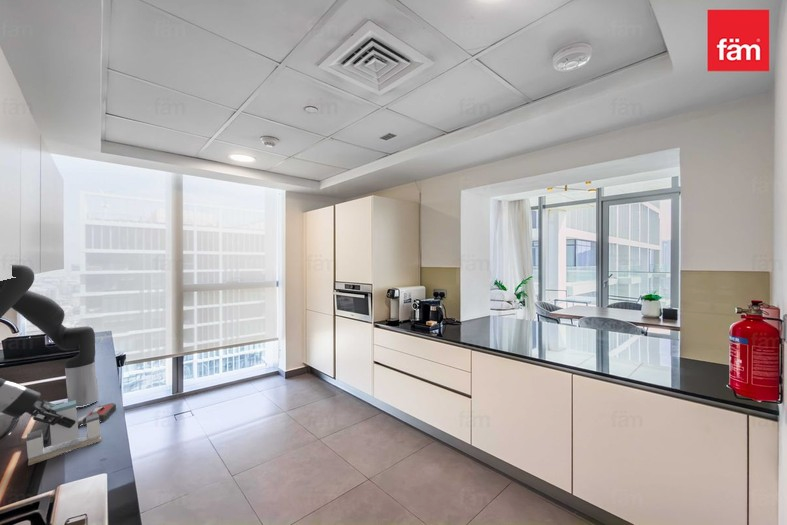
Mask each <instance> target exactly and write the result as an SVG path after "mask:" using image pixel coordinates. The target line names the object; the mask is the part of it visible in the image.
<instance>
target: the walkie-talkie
mask: <svg viewBox="0 0 787 525" xmlns="http://www.w3.org/2000/svg"><path fill="white" fill-rule="evenodd" d="M116 410H117V404H116V403H113V402H111V403H106V404H100V405H98V406H97V407H94V409H92V411H90V412H89V413H87V414H85V415H83V416H81V417H79V418H78V419H77V421H78V426H79V427H81V426H80V425H81V424H83V426H84V425H85V424H87V422H86V416H90V415H93V414H97V413H98V415H99V422H100V421H103V422H106V421H107V420H106V419H107V418H109V417H110V416H112V414H114V413H115V411H116ZM105 420H106V421H105ZM100 423H101V422H100ZM85 426H86V425H85Z"/></svg>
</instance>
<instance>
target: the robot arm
mask: <svg viewBox="0 0 787 525" xmlns="http://www.w3.org/2000/svg"><path fill="white" fill-rule="evenodd" d="M11 265H12V276H13V277H16V278H11V279H7V280H3V281H0V320H1V319H2V317H3V316H4V315H5V314H7V312H8V311H9V310H10V309H12V310H14V311H15V312H16V313H18V314H20V315H21V316H22V317H23V318H24V319H25V320H26V321H28V322H30V323H31V325H33V326H35V327H37V328H38V329H39V330H40V331H41V332H42V333H44V334H45V335H46V336H47V338H48V339H50V340H51V342H52V343H54V344H55V346H56V347H57V348H59V349H60V350H61V351H77V350H79V351H78V354H77V355H75V356H73V357H71V358H68V359H67V360H65V361H64V371H65V384H66V393H67V395H66V396H67V402H70V401H74V400H76V406H83V405H87V404H91V403H93V402H95V401H97V400H98V401H99V399H98V397H99V385H98V377H97V372H96V361H95V360H96V334H95V330H94V329H93V328H92V327H91V326H79V327H69V328H68V327H67V326H64V325H63V322H64V320H65V310H64V309H63V307H61V306H60V305H59V304H58V303H57V302H56V301H55V300H53V299H52V298H50V297H48V296H45V295H43V294H40V293H37V292H34V291H31V290H29V289H30V288H31V287H32V285H33V284H34V282H35V273H34V271H33V269H32V268H31V267H29V266H27V265H22V264H11ZM41 396H42V393H41V392H40V391H38V390H37V391H36V390H34V389H32V388H29V387H27V386H24V385H22V384H19V383H17V382H13V381H10V380H7V379H4V378H1V377H0V413H1V414H3V415H7V416H9V417H13V418H15V419H17V418H20V417H22V416H23V415H24V414H25V413H27V414H29V415H30V417H31V418H32V420H33V421H37V422H40V423H44V424H46V425H49V426H50V425H55V424H59V425H62V426H64V427H67V428H71V427H72V426H73V425H74V424H75V422H76V421H75V420H72V419H70V418H67V417H64V416H63V415H60V414H58V413H57V411H56V410H53V408H51V407H54V406H55V405H56V404H54V403H52V402H49V401H48V400H46V399H43V400H40V401H39V399H40V398H41ZM50 411H52V413H50ZM52 417H54V418H55V419H54V420H51V418H52Z"/></svg>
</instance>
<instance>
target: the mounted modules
mask: <svg viewBox="0 0 787 525" xmlns="http://www.w3.org/2000/svg"><path fill="white" fill-rule="evenodd" d="M86 422H87V425H86V430H87V432H86V434H88V439H89V438H92V437H95V436H99V435H100V436H101V434H102V433H101V424H100V423H101V422H99V415H98V413H97V414H93V415H90V416H86ZM25 438H26V439H25V440H26V441H25V442H26V450H27V459H28V460H29V458H32V457H35V456H38V455H41V454H43V450H44V448H45V446H44V437H43V429H40V430H36V431H32V432H30V433H27V435H26V437H25Z"/></svg>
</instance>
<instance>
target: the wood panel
mask: <svg viewBox="0 0 787 525" xmlns="http://www.w3.org/2000/svg"><path fill="white" fill-rule="evenodd" d="M96 442H97V443H100V442H102V437H101V435H100V438H98V439H95V440H92V441H89V442H86V443H83V444H80V445H77V446H74V447H71V448H68V449H65V450H62V451H59V452H56V453H53V454H50V455H47V456H44V457H41V458H38V459H35V460H32V461H29V459H28V461H27V466H31V465H34V464H37V463H40V462H43V461H45V460H49V459H52V458H55V457H57V456H56V455H58V454H60V453H63V452H66V451H69V450H73V449H76V448H79V447H82V448H85V447H88V446H90V444H91V445H93V443H94V444H96ZM87 445H88V446H87ZM84 446H85V447H84ZM79 449H80V448H79ZM76 450H77V449H76ZM73 451H74V450H73ZM54 456H55V457H54ZM58 456H59V455H58Z"/></svg>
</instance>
